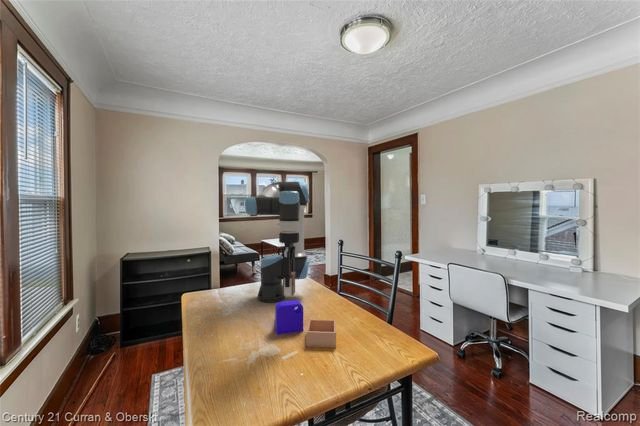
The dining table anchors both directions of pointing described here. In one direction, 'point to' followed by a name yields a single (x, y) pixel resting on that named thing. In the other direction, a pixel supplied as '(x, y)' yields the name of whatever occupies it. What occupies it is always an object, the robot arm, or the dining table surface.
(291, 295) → the walnut post
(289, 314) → the bracket
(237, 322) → the dining table surface
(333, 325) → the planter
